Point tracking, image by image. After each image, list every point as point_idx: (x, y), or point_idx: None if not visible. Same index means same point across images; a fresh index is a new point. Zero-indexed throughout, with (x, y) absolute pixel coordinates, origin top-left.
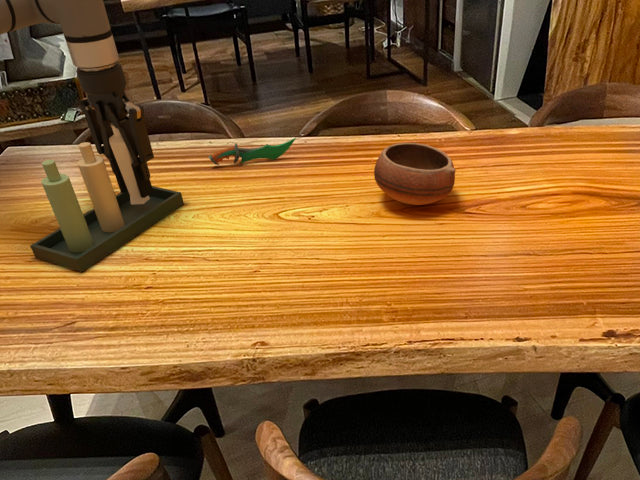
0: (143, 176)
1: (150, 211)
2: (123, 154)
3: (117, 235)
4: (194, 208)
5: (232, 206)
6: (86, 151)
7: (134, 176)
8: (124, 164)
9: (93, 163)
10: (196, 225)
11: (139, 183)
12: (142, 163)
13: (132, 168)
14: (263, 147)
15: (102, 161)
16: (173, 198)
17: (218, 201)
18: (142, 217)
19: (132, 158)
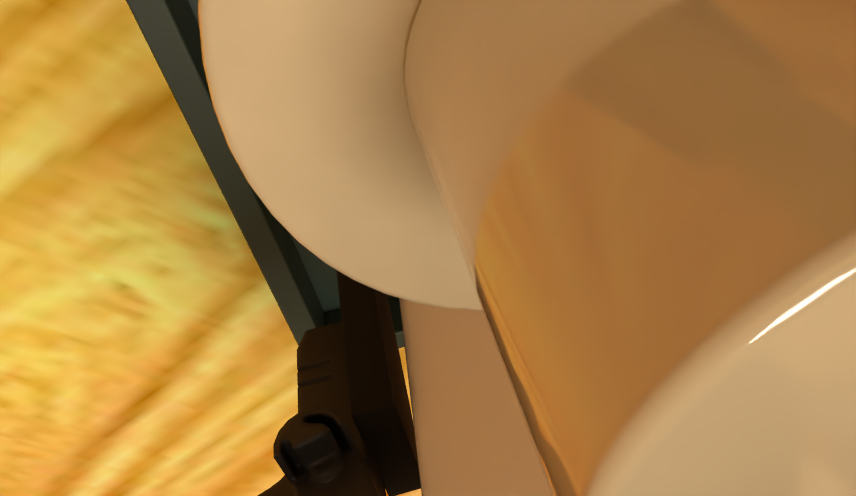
0: (313, 357)
1: (209, 152)
2: (472, 483)
3: None
4: (225, 332)
5: (105, 439)
6: (538, 164)
7: (405, 312)
8: (469, 369)
9: (332, 35)
10: (6, 258)
11: (339, 283)
12: (279, 482)
13: (384, 375)
14: None
15: (305, 241)
16: (286, 320)
17: (206, 421)
18: (159, 64)
19: (366, 487)
